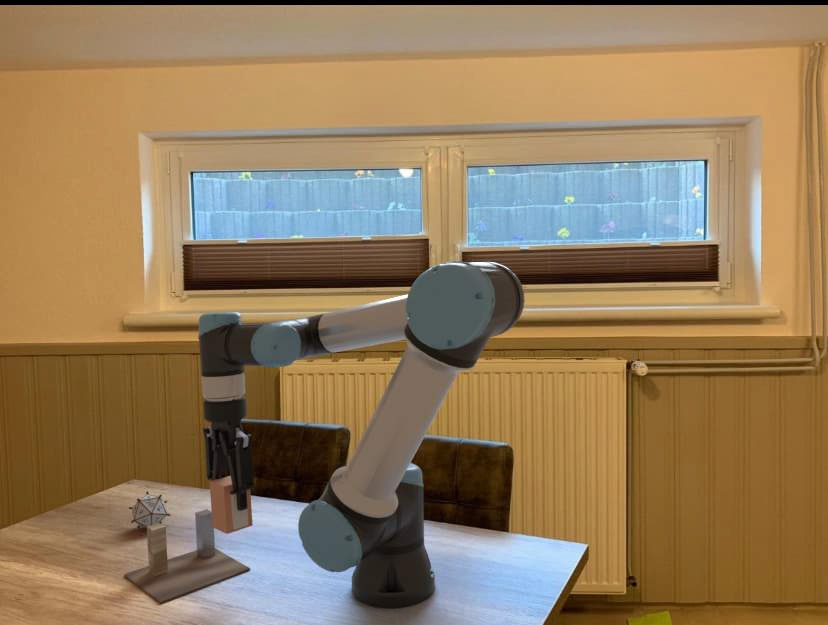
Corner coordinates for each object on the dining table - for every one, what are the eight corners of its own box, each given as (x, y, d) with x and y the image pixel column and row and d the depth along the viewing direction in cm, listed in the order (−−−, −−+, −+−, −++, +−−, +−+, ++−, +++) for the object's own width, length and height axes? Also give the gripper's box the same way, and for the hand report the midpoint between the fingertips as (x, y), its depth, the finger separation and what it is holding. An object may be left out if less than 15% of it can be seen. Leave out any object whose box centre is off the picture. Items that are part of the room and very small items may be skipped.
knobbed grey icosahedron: (160, 542, 156) (184, 508, 155) (129, 542, 149) (154, 506, 148) (145, 515, 161) (168, 482, 160) (114, 514, 154) (138, 479, 153)
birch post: (167, 571, 131) (165, 526, 131) (154, 576, 130) (152, 530, 129) (162, 567, 133) (159, 522, 133) (149, 571, 131) (146, 526, 131)
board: (250, 570, 132) (250, 568, 132) (160, 604, 119) (160, 601, 119) (210, 547, 143) (210, 545, 143) (124, 576, 131) (124, 574, 131)
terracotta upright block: (252, 525, 124) (249, 479, 123) (226, 534, 120) (223, 486, 120) (237, 519, 128) (235, 474, 127) (212, 527, 124) (209, 481, 123)
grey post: (215, 555, 138) (213, 512, 138) (203, 559, 137) (201, 515, 136) (209, 551, 140) (206, 509, 140) (197, 555, 138) (195, 512, 138)
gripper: (270, 399, 119) (277, 528, 120) (218, 389, 132) (225, 506, 133) (231, 406, 113) (239, 541, 115) (181, 395, 126) (189, 517, 128)
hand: (232, 522), depth 124 cm, fingers closed on terracotta upright block, 5 cm apart
